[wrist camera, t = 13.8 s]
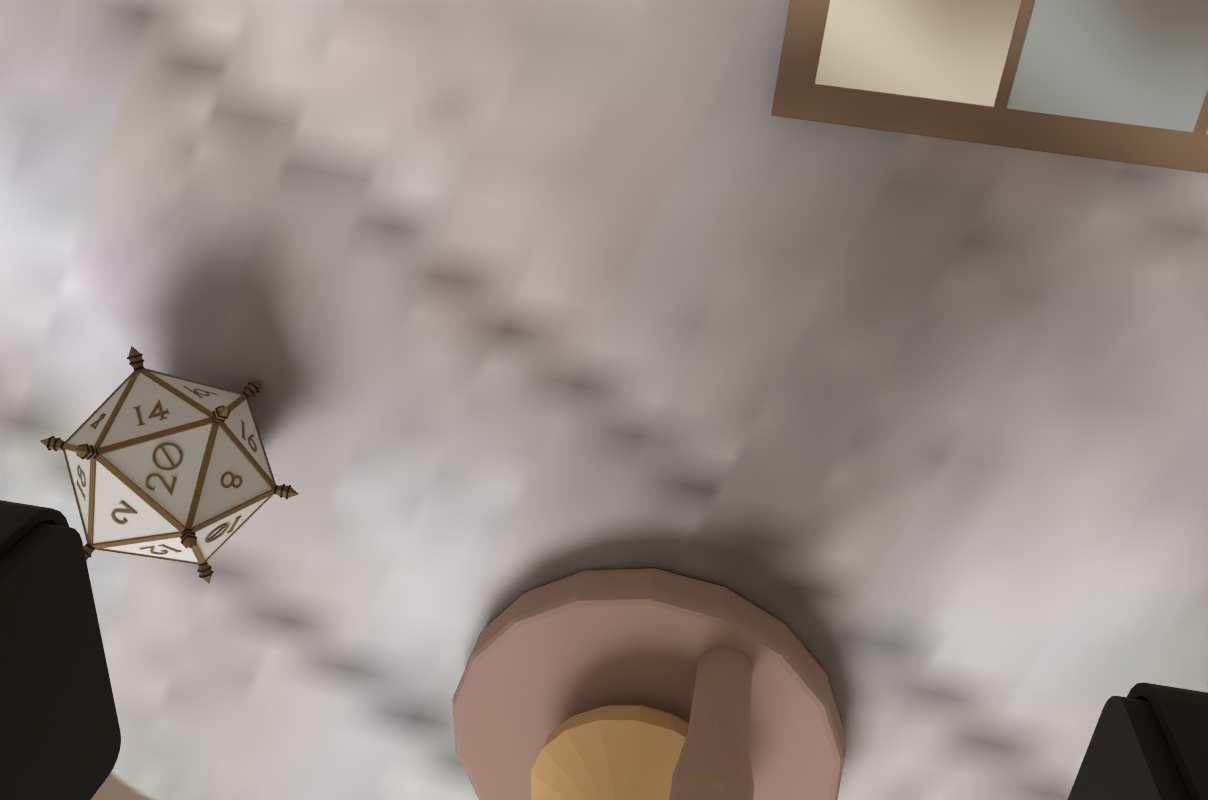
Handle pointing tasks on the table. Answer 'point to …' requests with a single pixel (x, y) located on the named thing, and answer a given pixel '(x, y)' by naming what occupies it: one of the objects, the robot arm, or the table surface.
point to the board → (1008, 73)
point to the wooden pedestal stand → (644, 697)
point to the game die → (168, 468)
